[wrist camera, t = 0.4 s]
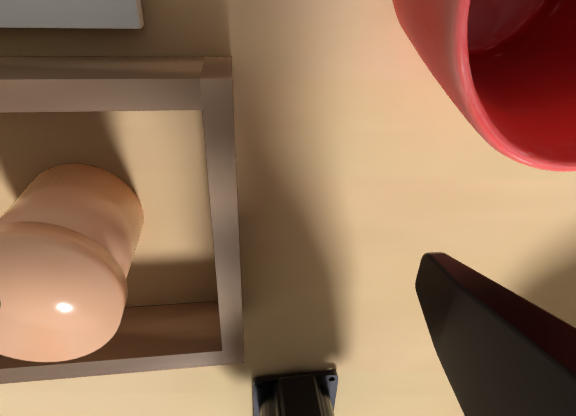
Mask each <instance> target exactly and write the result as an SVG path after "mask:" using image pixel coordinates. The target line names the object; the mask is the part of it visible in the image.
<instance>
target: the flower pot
mask: <svg viewBox="0 0 576 416" xmlns="http://www.w3.org/2000/svg"><path fill="white" fill-rule="evenodd" d="M393 4H394V9H395V12H396V15H397V18H398V20H399V23H400V25H401V27H402V28H403V30H404V32H405V33H406V35H407V37H408V38H409V40H410V41H411V43H412V44H413V46H414V47H415V49H416V51H417V52H418V54H419V55H420V57H421V58H422V60H423V61H424V63H425V64H426V66H427V67H428V69H429V70H430V72H431V73H432V74H433V76H434V77H435V79H436V80H437V81H438V83H439V84H440V85H441V87H442V88H443V89H444V91H445V92H446V94H447V95H448V96H449V98H450V99H451V100H452V101H453V103H454V104H455V105H456V106H457V108H458V109H459V110H460V112H461V113H462V114H463V115H464V117H465V118H466V119H467V120H468V122H469V123H470V124H471V125H472V126H473V127H474V129H475V130H476V131H477V132H478V133H479V134H480V135H481V136H482V138H483V139H484V140H485V141H486V142H487V143H488V144H490V145H491V146H492V147H493V148H494V149H496V150H497V151H498V152H500V153H501V154H503V155H505V156H507V157H508V158H510V159H512V160H514V161H517V162H519V163H522V164H524V165H527V166H530V167H534V168H538V169H542V170H550V171H576V0H393Z"/></svg>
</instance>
